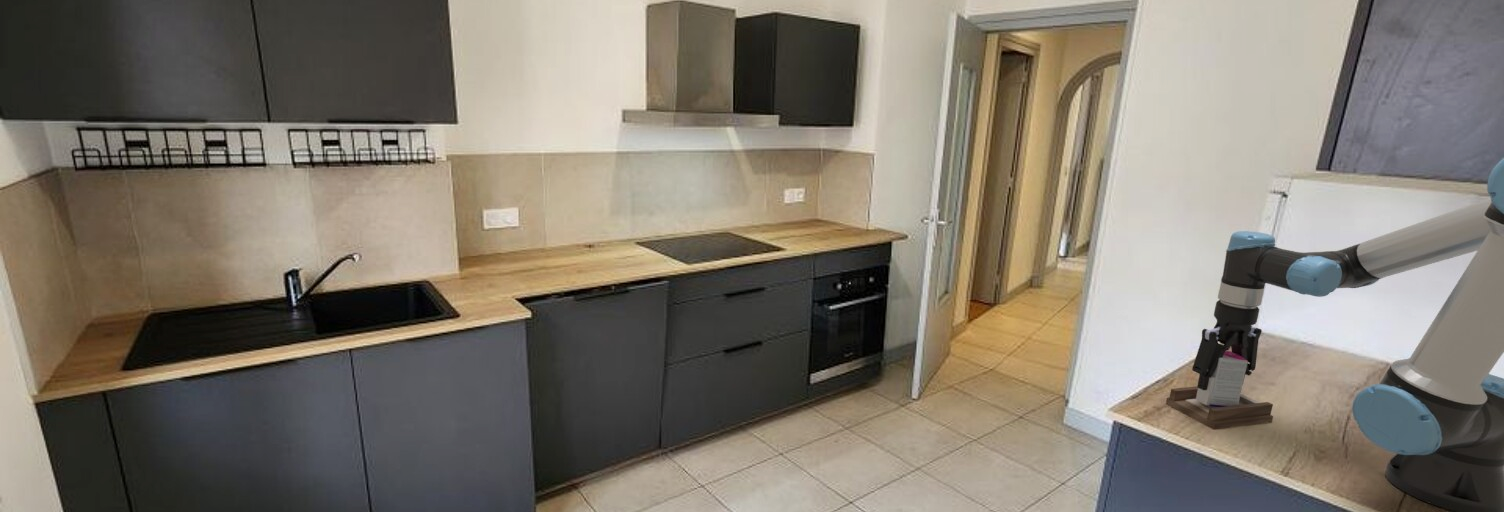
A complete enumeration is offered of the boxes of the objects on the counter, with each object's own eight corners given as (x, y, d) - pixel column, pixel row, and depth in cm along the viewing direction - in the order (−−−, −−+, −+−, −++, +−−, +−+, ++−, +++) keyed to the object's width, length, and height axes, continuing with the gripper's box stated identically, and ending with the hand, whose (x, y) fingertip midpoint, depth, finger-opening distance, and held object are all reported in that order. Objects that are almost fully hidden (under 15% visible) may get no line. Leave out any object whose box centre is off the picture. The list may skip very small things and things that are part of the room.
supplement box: (1238, 409, 140) (1248, 360, 137) (1208, 407, 141) (1218, 358, 138) (1225, 397, 146) (1234, 350, 143) (1196, 395, 147) (1205, 348, 144)
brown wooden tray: (1271, 422, 141) (1275, 405, 140) (1213, 429, 137) (1217, 412, 136) (1221, 397, 152) (1224, 382, 151) (1165, 403, 148) (1169, 387, 147)
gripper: (1257, 295, 144) (1236, 389, 149) (1184, 300, 139) (1165, 397, 144) (1292, 306, 137) (1268, 404, 142) (1216, 311, 132) (1195, 412, 137)
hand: (1216, 400), depth 143 cm, fingers closed on supplement box, 7 cm apart
